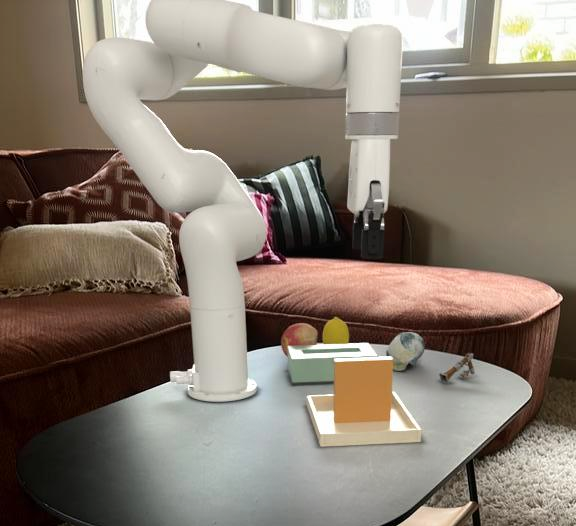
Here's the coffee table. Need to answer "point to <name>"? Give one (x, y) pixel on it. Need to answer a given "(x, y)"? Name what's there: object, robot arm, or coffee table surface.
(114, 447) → the coffee table surface
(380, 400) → the toast
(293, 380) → the toaster
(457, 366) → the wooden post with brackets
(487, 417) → the coffee table surface
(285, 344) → the fruit
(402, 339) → the seashell
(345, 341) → the lemon
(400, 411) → the tray
